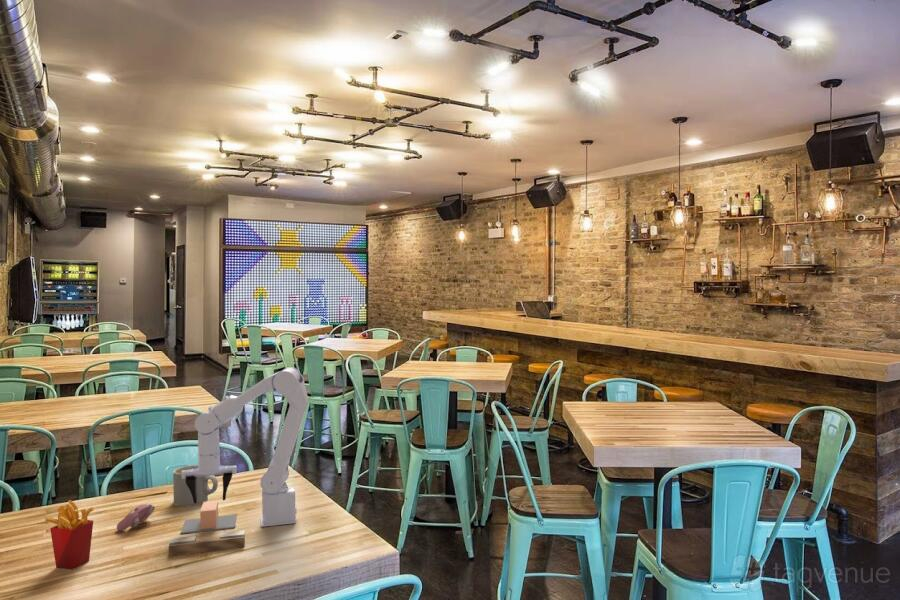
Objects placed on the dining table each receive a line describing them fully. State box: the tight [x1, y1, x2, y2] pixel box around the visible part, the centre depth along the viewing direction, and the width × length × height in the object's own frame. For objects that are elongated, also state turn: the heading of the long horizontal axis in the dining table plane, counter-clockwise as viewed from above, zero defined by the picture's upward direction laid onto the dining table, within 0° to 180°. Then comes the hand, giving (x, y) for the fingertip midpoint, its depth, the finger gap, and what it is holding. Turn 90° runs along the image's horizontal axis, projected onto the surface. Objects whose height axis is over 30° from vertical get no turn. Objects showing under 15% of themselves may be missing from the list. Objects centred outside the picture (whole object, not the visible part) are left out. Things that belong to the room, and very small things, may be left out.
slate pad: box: [180, 513, 238, 535], centre depth 173 cm, size 14×10×1 cm
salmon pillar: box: [199, 500, 219, 529], centre depth 173 cm, size 4×8×5 cm, turn 17°
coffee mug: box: [172, 464, 219, 507], centre depth 192 cm, size 13×10×10 cm
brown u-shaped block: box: [168, 529, 246, 557], centre depth 157 cm, size 18×4×3 cm, turn 107°
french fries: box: [44, 499, 95, 571], centre depth 147 cm, size 9×8×15 cm
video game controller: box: [116, 502, 155, 532], centre depth 173 cm, size 10×5×7 cm, turn 169°
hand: (209, 500), depth 174 cm, fingers open, 7 cm apart
